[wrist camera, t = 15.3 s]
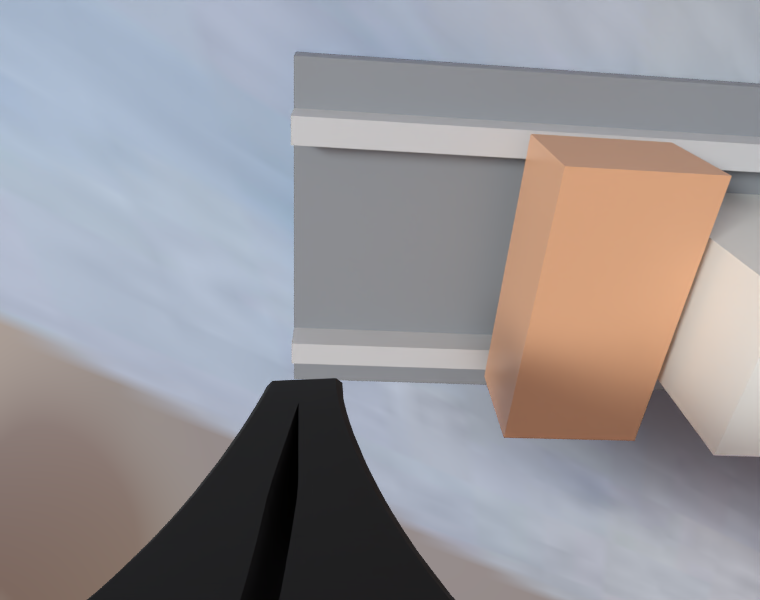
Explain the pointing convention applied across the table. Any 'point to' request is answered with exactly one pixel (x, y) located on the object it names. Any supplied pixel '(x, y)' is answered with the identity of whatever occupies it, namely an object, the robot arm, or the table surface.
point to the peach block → (596, 282)
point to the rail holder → (452, 195)
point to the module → (722, 336)
